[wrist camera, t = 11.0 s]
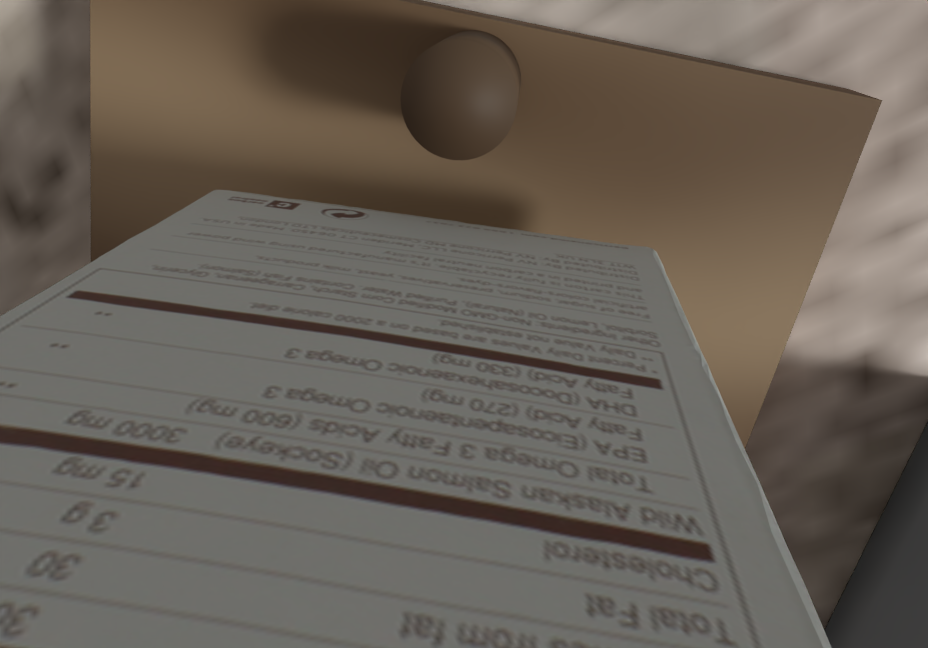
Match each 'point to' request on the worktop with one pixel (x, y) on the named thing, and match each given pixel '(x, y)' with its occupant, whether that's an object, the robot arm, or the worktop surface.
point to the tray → (891, 571)
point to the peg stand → (484, 143)
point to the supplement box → (375, 446)
